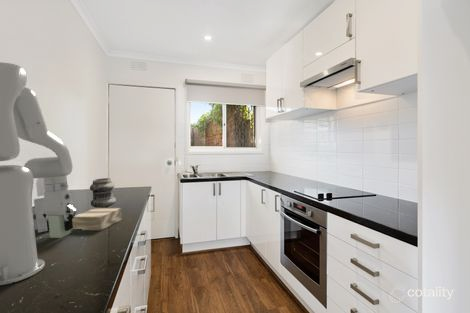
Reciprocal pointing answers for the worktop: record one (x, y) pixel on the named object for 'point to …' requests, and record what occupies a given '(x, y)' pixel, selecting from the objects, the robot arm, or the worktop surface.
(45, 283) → the worktop surface
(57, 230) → the sage block
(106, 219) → the birch block
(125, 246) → the worktop surface
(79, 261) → the worktop surface
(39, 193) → the alcohol
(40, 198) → the skincare box
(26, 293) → the worktop surface
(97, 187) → the apothecary jar
